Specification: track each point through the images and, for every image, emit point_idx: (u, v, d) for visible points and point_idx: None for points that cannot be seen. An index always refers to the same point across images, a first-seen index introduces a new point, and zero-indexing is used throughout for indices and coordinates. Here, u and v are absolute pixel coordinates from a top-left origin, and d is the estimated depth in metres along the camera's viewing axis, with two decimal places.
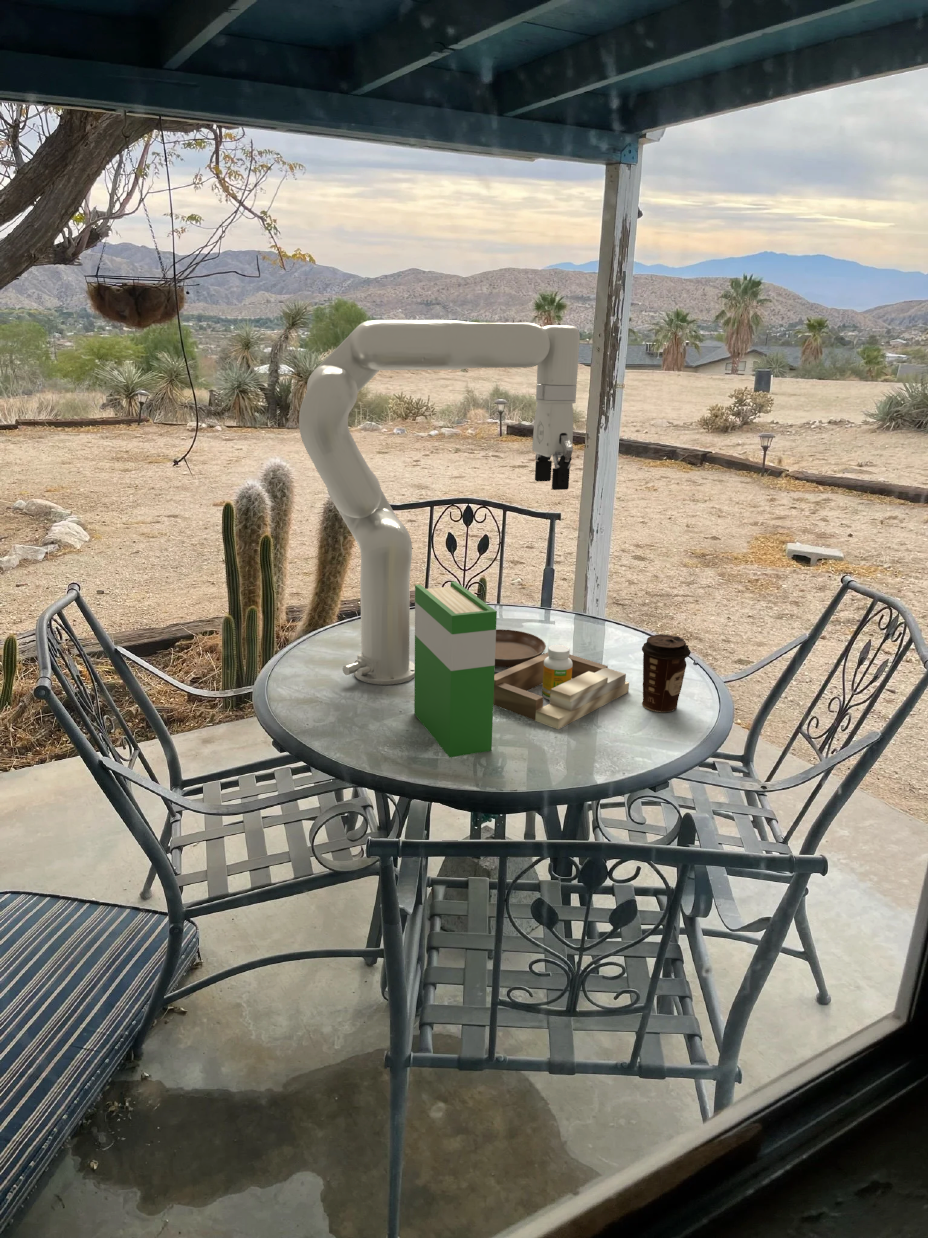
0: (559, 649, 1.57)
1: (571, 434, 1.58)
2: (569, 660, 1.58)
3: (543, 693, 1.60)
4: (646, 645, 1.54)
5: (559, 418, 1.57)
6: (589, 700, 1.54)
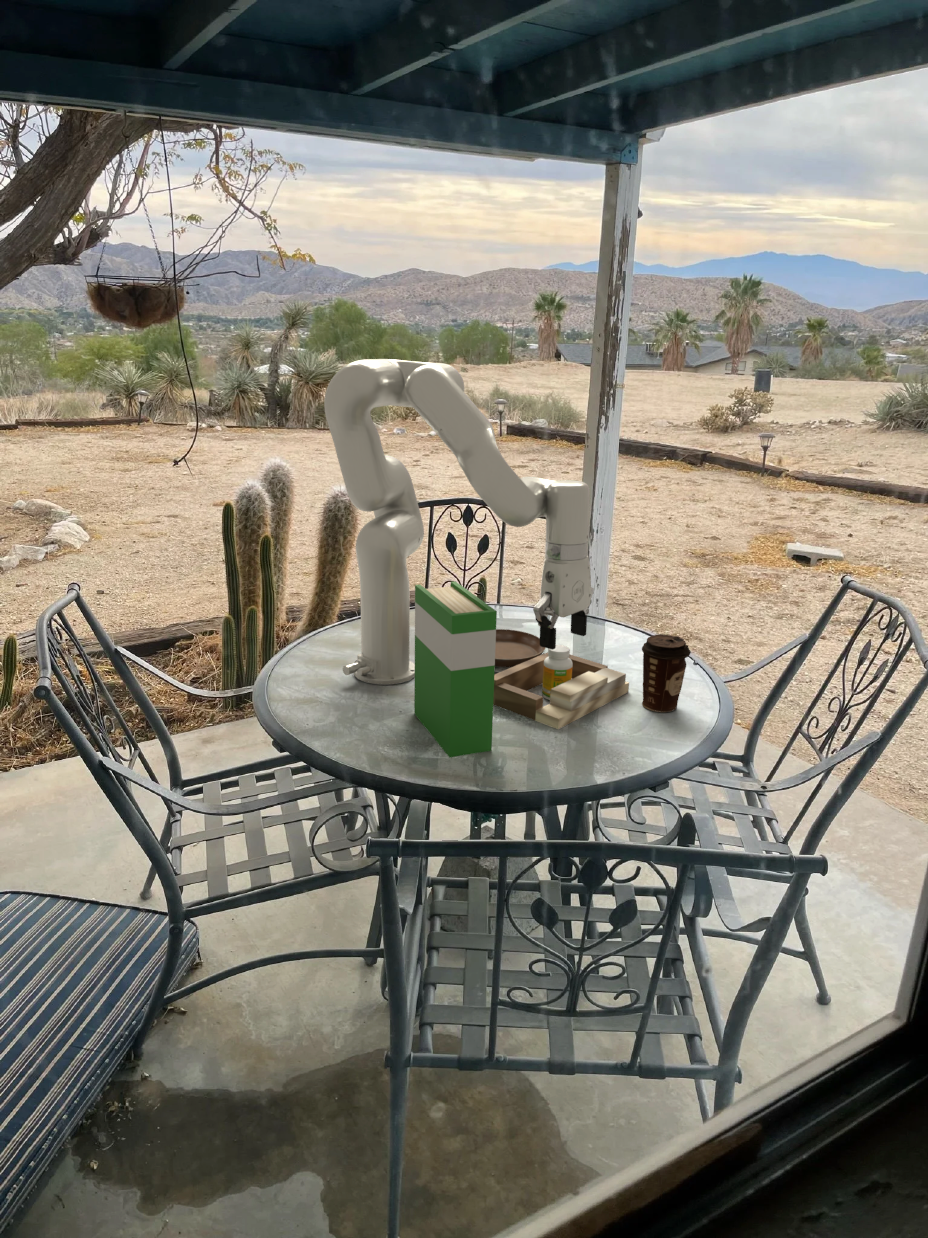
0: (559, 649, 1.57)
1: None
2: (569, 660, 1.58)
3: (543, 693, 1.60)
4: (646, 645, 1.54)
5: None
6: (589, 700, 1.54)
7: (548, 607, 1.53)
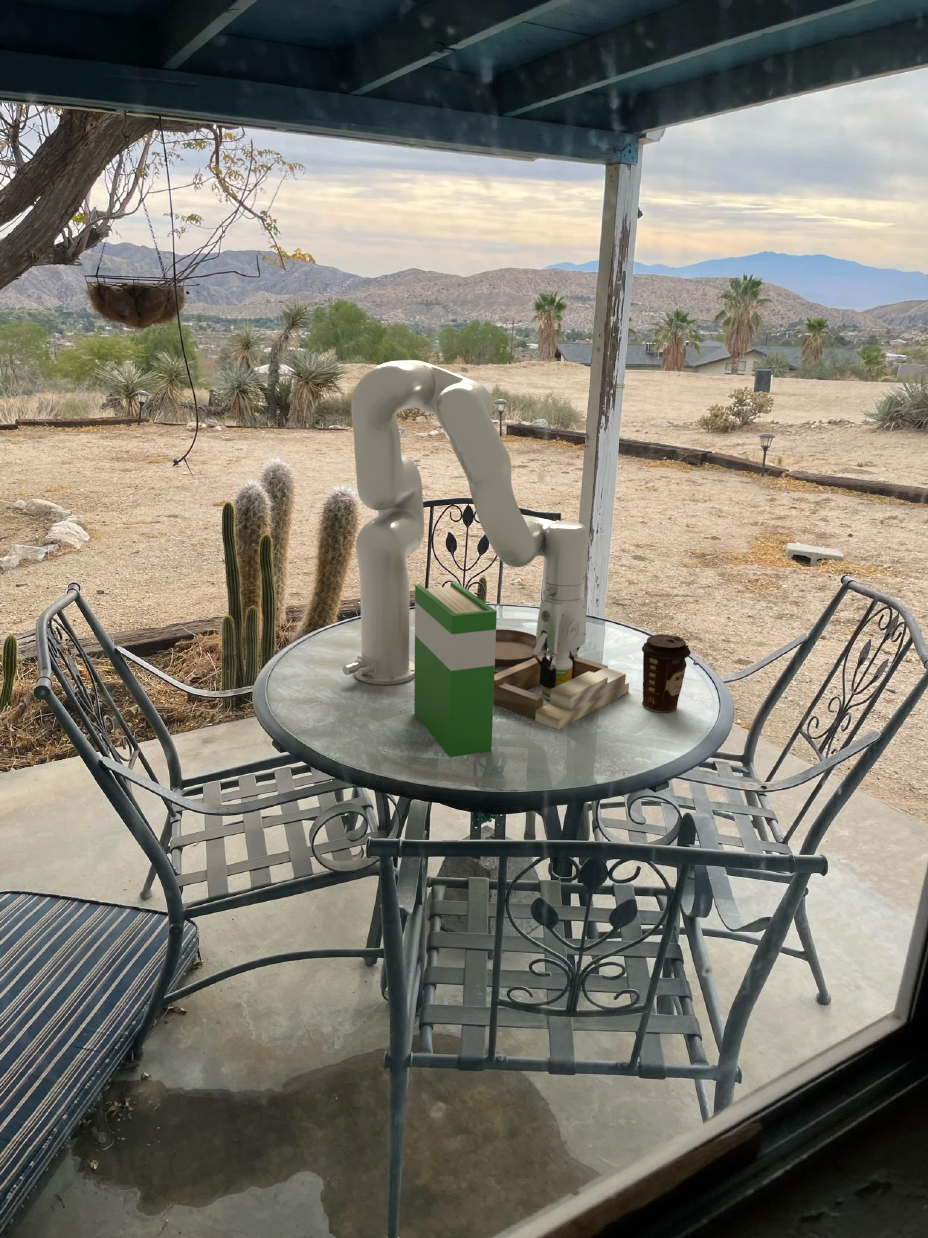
0: None
1: None
2: (569, 660, 1.58)
3: (543, 693, 1.60)
4: (646, 645, 1.54)
5: None
6: (589, 700, 1.54)
7: None
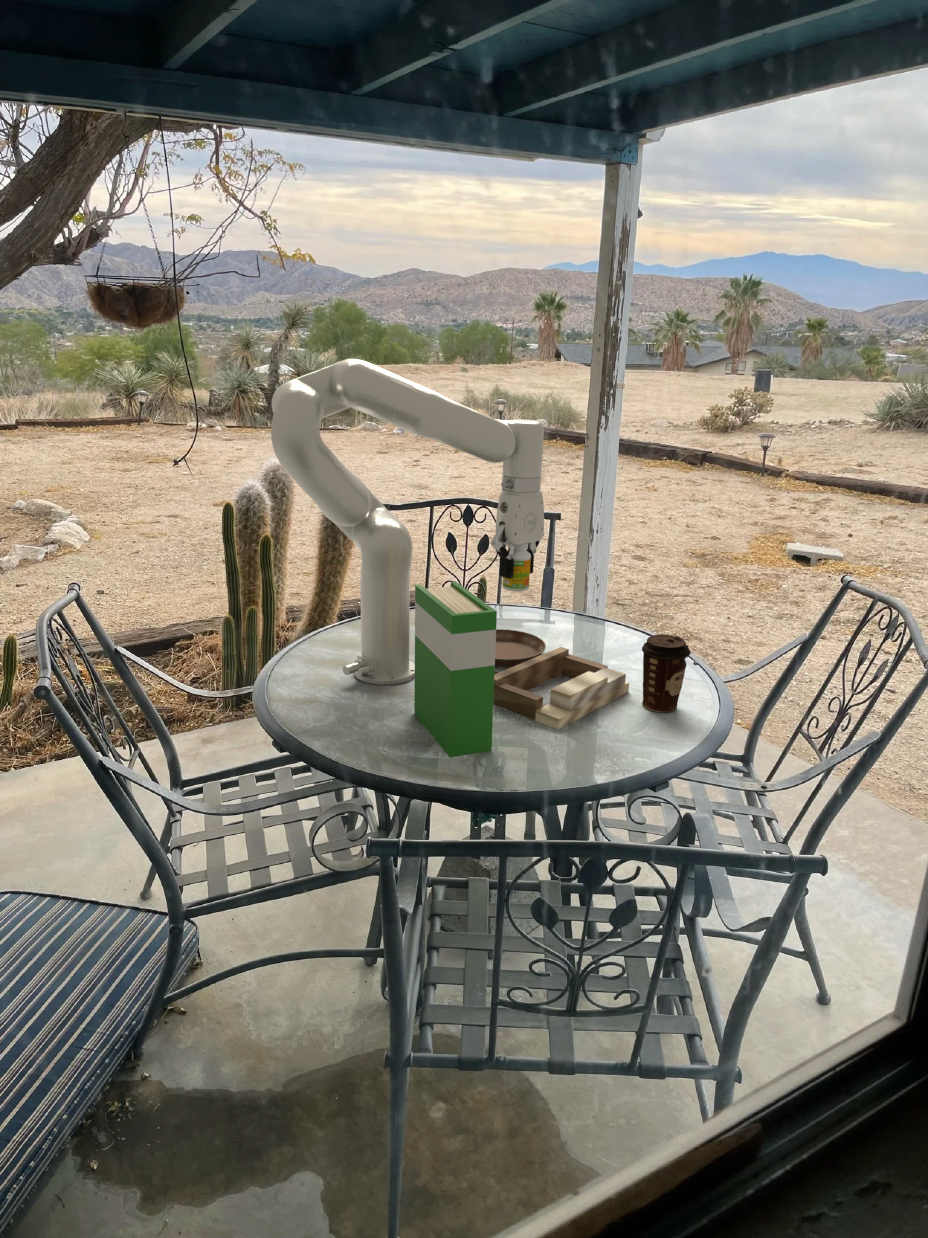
0: None
1: None
2: (527, 553, 1.69)
3: (503, 584, 1.71)
4: (646, 645, 1.54)
5: None
6: (589, 700, 1.54)
7: (502, 536, 1.67)
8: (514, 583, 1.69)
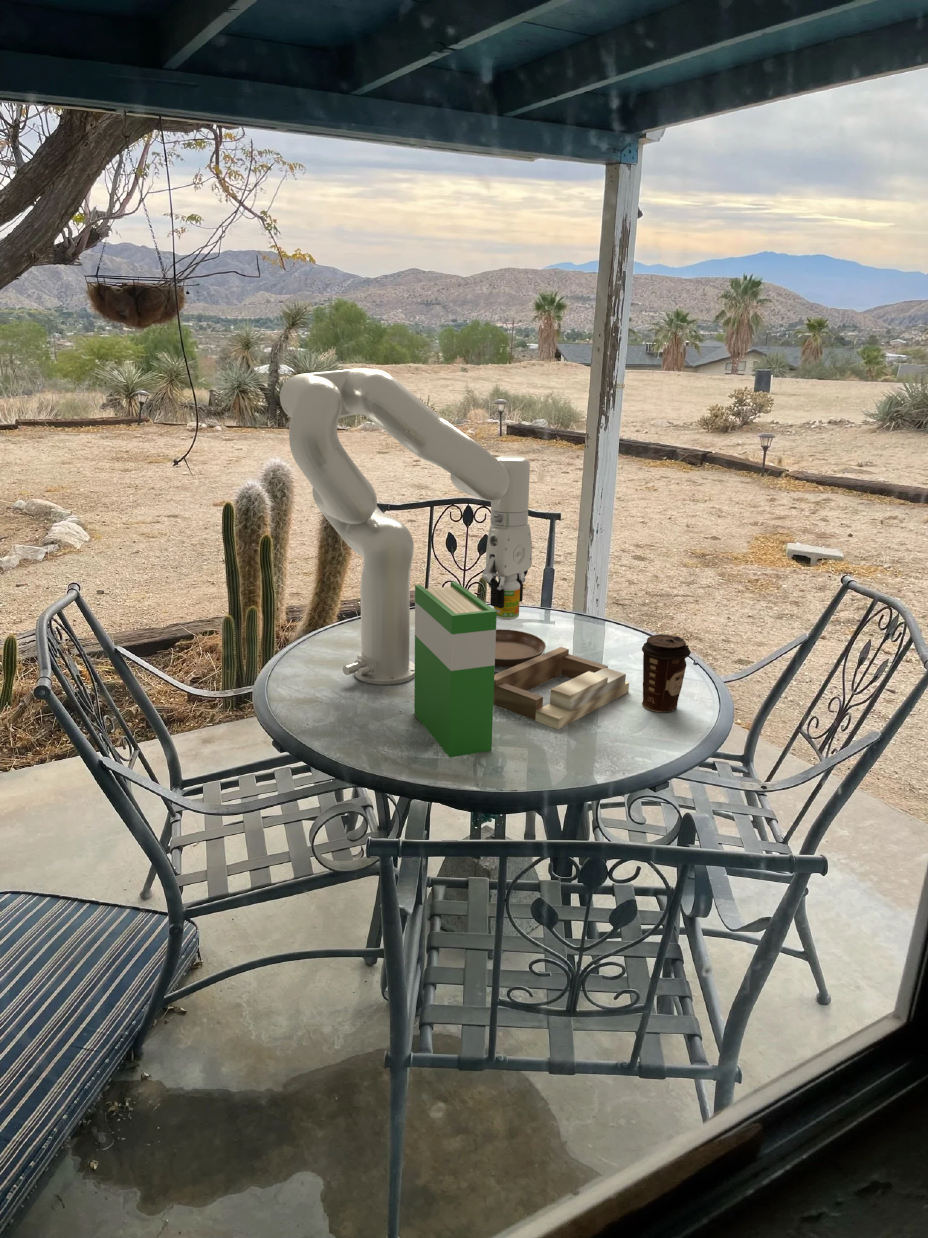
0: None
1: None
2: (517, 582, 1.76)
3: None
4: (646, 645, 1.54)
5: None
6: (589, 700, 1.54)
7: None
8: (505, 612, 1.75)
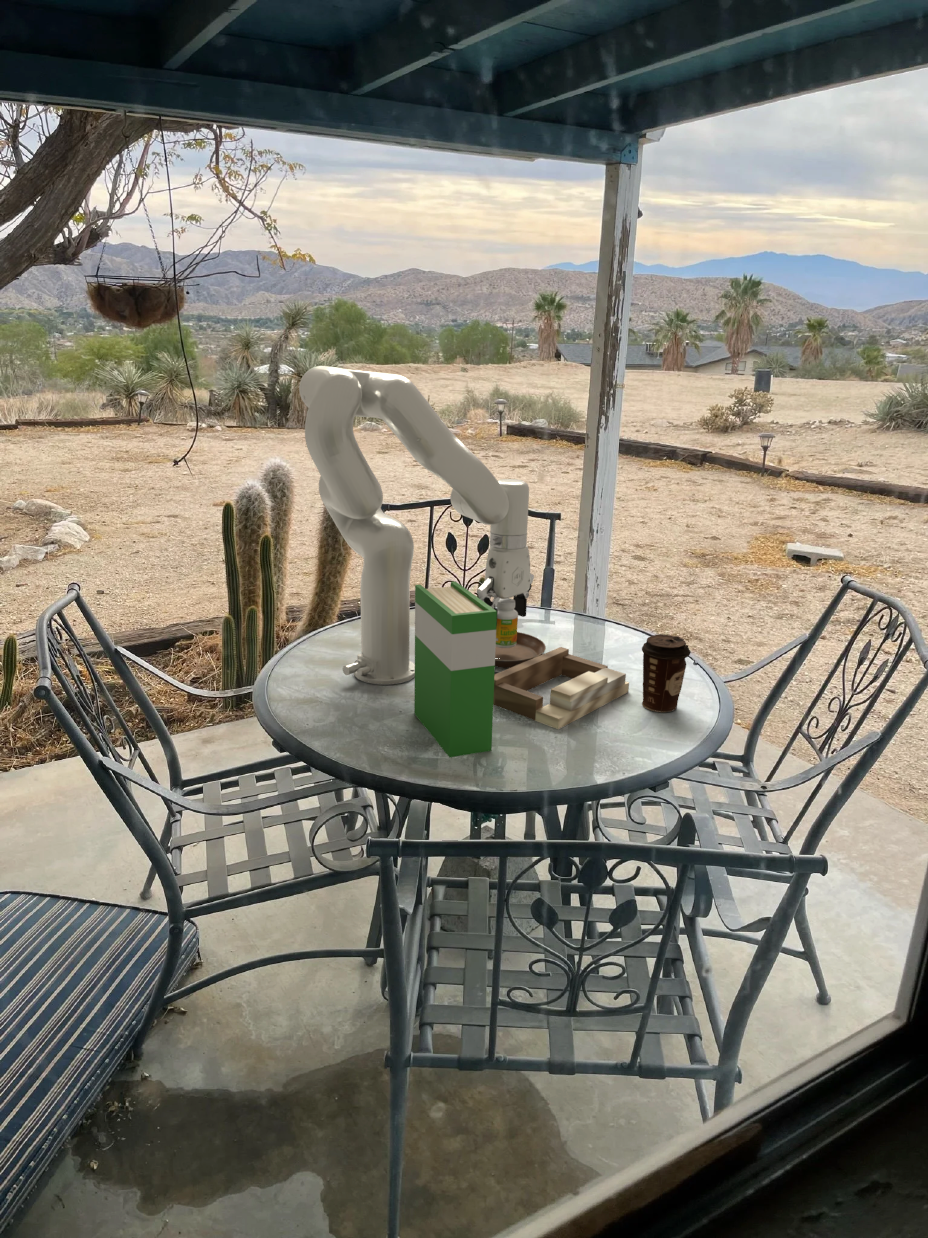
0: (506, 601, 1.76)
1: None
2: (515, 611, 1.77)
3: None
4: (646, 645, 1.54)
5: None
6: (589, 700, 1.54)
7: (491, 590, 1.75)
8: (502, 641, 1.77)
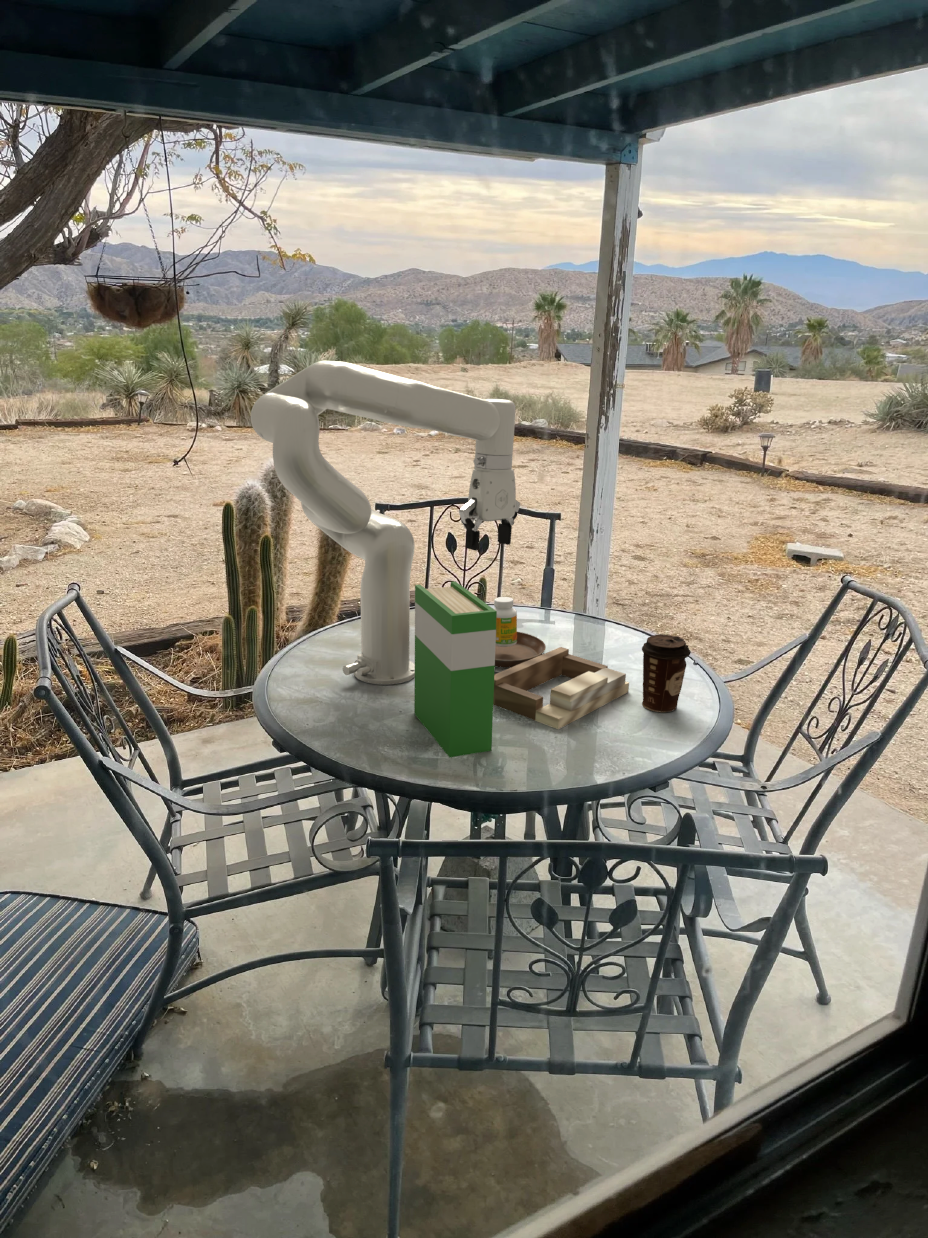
0: (504, 600, 1.77)
1: None
2: (513, 609, 1.78)
3: None
4: (646, 645, 1.54)
5: None
6: (589, 700, 1.54)
7: (474, 513, 1.71)
8: (503, 640, 1.77)
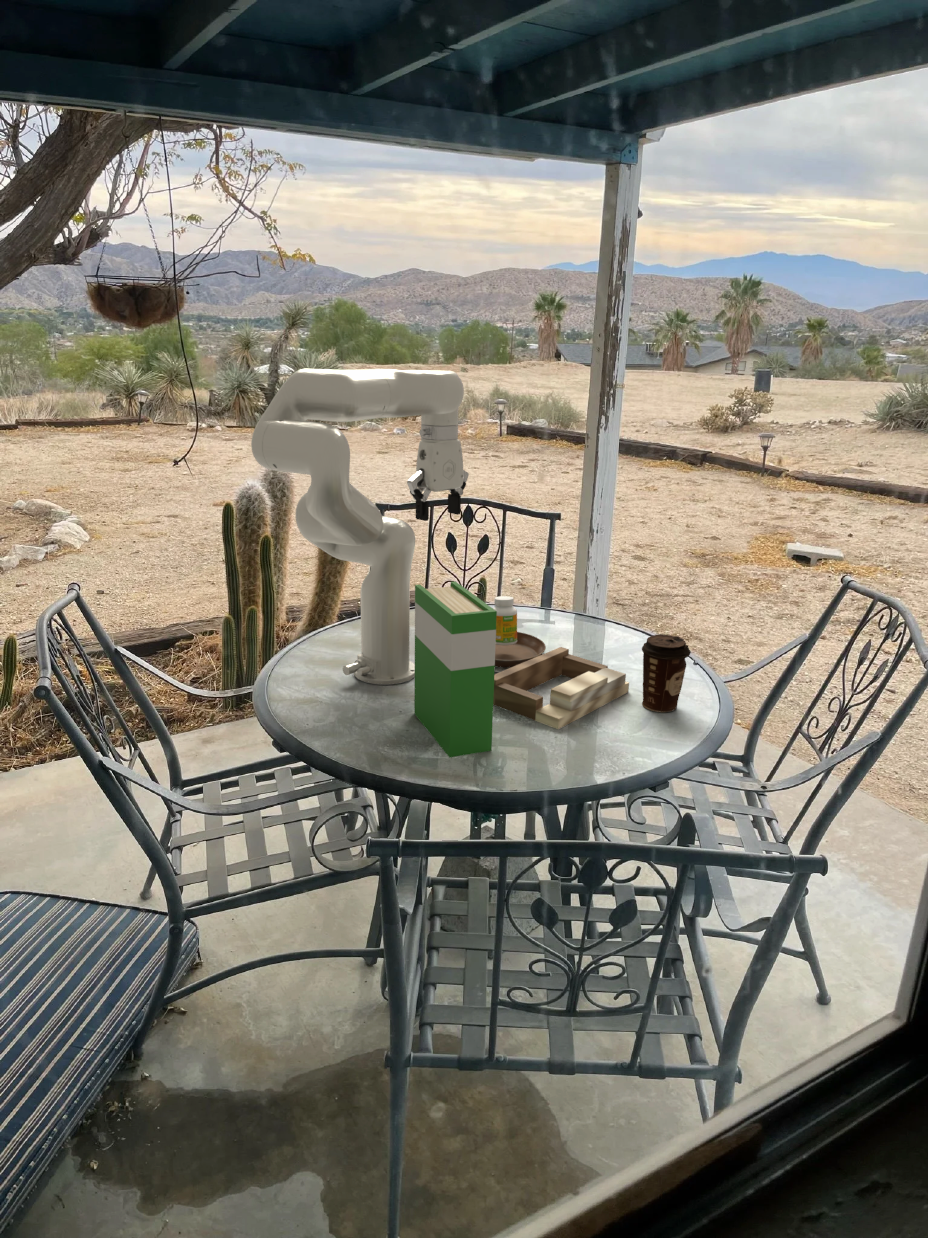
0: (505, 598, 1.77)
1: None
2: None
3: None
4: (646, 645, 1.54)
5: None
6: (589, 700, 1.54)
7: (423, 484, 1.74)
8: (505, 638, 1.77)
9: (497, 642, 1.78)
